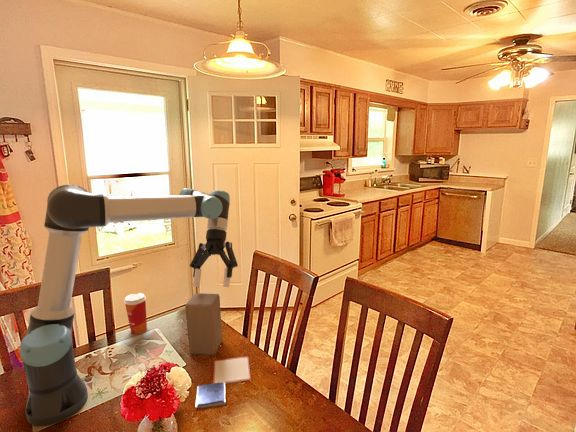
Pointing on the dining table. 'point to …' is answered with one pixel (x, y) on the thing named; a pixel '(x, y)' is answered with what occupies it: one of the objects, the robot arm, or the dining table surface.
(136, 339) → the dining table surface
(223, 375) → the print card
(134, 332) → the coffee cup
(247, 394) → the dining table surface
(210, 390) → the ink pad
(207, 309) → the block
